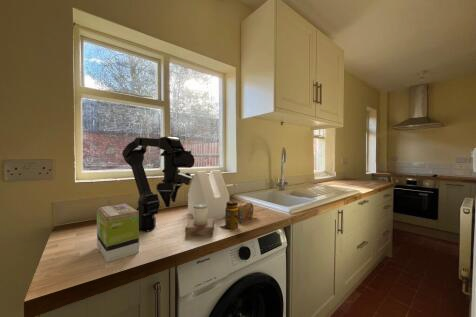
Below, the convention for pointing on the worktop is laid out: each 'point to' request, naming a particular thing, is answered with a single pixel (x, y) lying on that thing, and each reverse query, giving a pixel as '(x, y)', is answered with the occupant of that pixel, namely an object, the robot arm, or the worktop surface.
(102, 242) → the tea box
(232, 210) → the condiment
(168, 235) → the worktop surface
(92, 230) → the worktop surface
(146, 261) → the worktop surface
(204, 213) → the canister
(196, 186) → the white plastic jug
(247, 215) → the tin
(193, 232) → the riser
